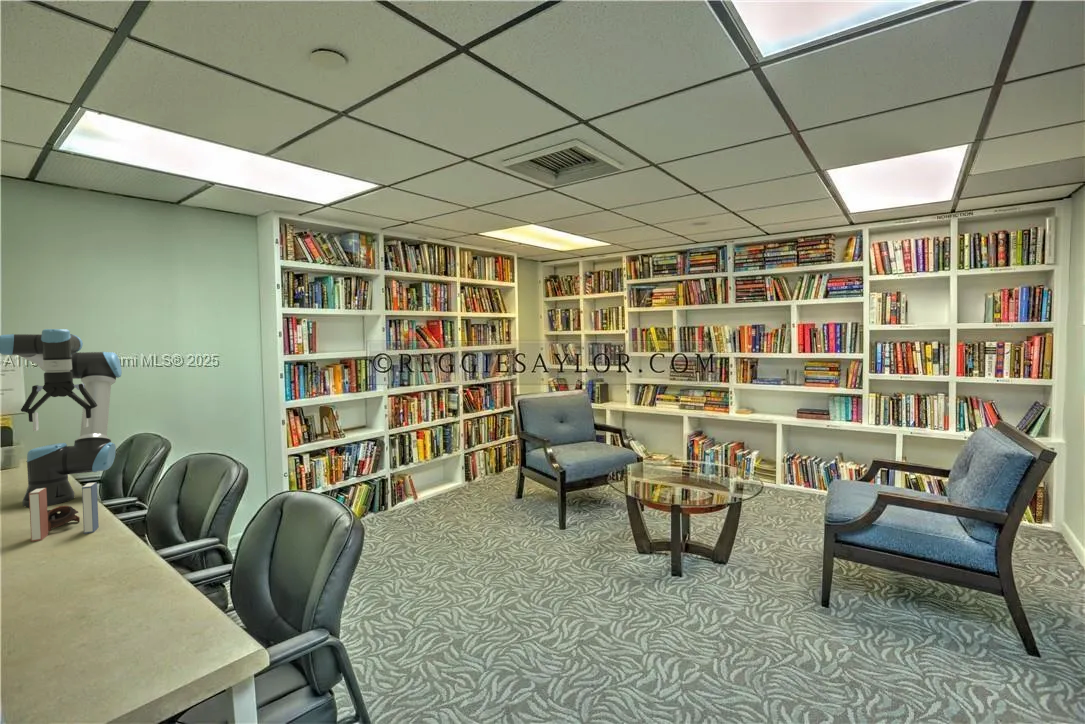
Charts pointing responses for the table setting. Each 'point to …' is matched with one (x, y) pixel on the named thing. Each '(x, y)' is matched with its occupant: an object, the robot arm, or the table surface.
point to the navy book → (90, 507)
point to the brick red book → (38, 514)
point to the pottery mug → (61, 516)
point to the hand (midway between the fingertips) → (61, 428)
